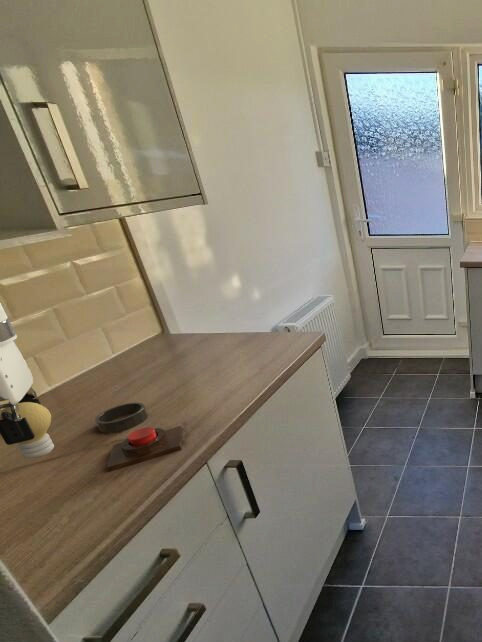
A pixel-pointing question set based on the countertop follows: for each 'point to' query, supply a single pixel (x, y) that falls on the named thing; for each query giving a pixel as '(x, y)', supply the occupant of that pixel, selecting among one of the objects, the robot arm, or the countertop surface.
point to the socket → (122, 424)
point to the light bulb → (35, 429)
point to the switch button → (142, 436)
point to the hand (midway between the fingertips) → (27, 429)
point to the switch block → (145, 449)
